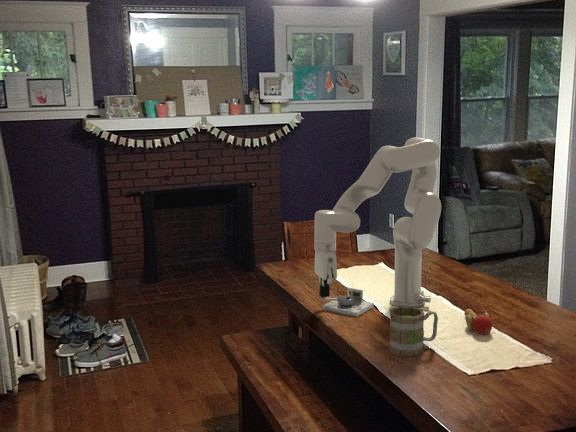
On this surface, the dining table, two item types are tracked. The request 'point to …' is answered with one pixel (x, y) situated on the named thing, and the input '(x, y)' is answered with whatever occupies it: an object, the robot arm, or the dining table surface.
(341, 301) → the crank
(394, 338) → the mug
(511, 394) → the dining table surface
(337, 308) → the stand
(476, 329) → the kendama
